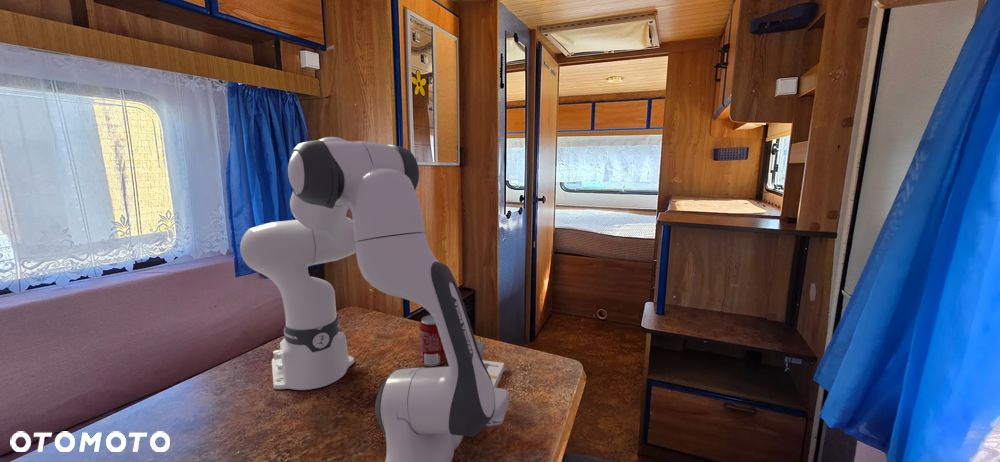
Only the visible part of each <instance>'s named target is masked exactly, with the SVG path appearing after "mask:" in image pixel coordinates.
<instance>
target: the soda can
mask: <svg viewBox="0 0 1000 462" xmlns="http://www.w3.org/2000/svg"><path fill="white" fill-rule="evenodd" d="M418 333H419V335H418V336H419V340H418V341H419V342H418V343H419V363H421V364H422V365H424V366H426V367H429V368H431V367H439V366H440V365H441V364H443V363H445V361H446V360H447V358H446V354H445V351H444V348H443V345H442V342H441V338H440V335H439V332H438V329H437V326H436V323H435V320H434V318H433V317H432V315H431V314H430V315H425V316H423V317H422V318H421V322H420V324H419V325H418Z"/></svg>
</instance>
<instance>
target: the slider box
mask: <svg viewBox="0 0 1000 462" xmlns="http://www.w3.org/2000/svg"><path fill="white" fill-rule="evenodd" d="M482 361H483V363H484V365H485V367H486V369H487V371H488V373H489V375H490V378H491V381H492V384H493V387H494V388H498V385H499V383H500V381H501V378H502V376H503V373H504V371H505V362H498V361H493V360H492V361H491V360H483V359H482Z"/></svg>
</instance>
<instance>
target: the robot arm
mask: <svg viewBox="0 0 1000 462" xmlns="http://www.w3.org/2000/svg"><path fill="white" fill-rule="evenodd" d="M289 155H290V156H289V160H288V164H287V165H288V166H287V176H288V179H289V184H290V187H291V190H292V193H291V196H290V199H289V209H290V213H291V214H292V215H293V217H294V218H295V219H291V220H290V219H289V220H282V221H281V220H279V221H270V222H268V223H267V222H266V223H262V224H260V225H257V226H253V227H250V228H248V229H247V230H246V231H245V233H244V234H243V235H242V237H241V241H240V245H239V251H240V256H241V258H242V260H243V262H244V263H245V264H246V266H247V267H248V268H250V269H251V270H253V271H254V272H257V273H259V274H262V275H263V276H265V277H266V278H268V279H269V280H270V281H271V282H273V284H274V285H275V286H276V288H277V289H278V291H279V292H280V295H281V299H282V304H283V310H284V316H285V324H284V327H283V335H284V337H283V339H282V340H280V342H279V348H280V349H276V350H273V351H272V355H273V358H272V359H271V371H272V384H273V386H272V387H273V389H274V390H287V389H290V390H296V391H298V390H299V391H306V390H313V389H319V388H323V387H326V386H328V385H332V384H333V383H336V382H337V381H339V380H340V379H341V378H342V377H344V376H345V375H346V373H347V371H348V369H349V367H351V366H352V365H353V364H354V363H355V358H354V357H353V356H352V355H350V354H349V353H348V352H349V351H348V345H347V344H348V343H347V338H346V335H345V334H344V333H343V332H341V331H340V319H339V315H337V308H336V307H337V305H336V304H337V303H336V290H335V289H334V286H333V285H332V284H331V283H330V282H329V281H327V280H325V279H322V278H319V277H315V276H310V273H309V267H311V266H314V265H315V266H316V265H321V264H326V263H332V262H336V261H339V260H341V259H345V258H348V257H350V256H352V255H356V260H357V265H358V269H359V271H360V273H361V275H362V277H363V279H365V281H366V282H367V283H368V284H369V285H370V286H372V287H373V288H375V289H376V290H378V291H380V292H382V293H385V294H386V295H390V296H393V297H396V298H400V299H404V300H407V301H410V302H412V303H415V304H417V305H419V306H421V307H422V308H424V309H425V310H426V311H427V312H428V313H429V314H430V315H432V317H433V318H434V320H435V323H436V326H437V329H438V332H439V335H440V338H441V342H442V345H443V348H444V351H445V354H446V360H447V363H448V364H447V365H448V366H433V367H412V368H411V367H410V368H402V369H395V370H393V371H392V372H391V373H390V374H388V376H387V377H386V378H385V379H384V381H383V382H382V384H381V386H380V388H379V390H378V393H377V395H376V399H375V402H374V410H375V411H374V412H375V417H376V421H377V424H378V426H379V427H380V430H381V432H382V433H383V435H384V438H385V443H386V445H385V446H386V454H385V460H384V462H452V461H453V458H454V454H455V450H456V449H457V448H458V447H459V446H460V444H461V442H462V440H463V438H464V437H474V436H476V435H478V434H479V433H480V432H481V431H482V430H483V429H484V428H493V427H495V426H500V425H502V424H503V422H504V421H505V417H506V413H507V412H508V409H509V407H510V406H509V405H510V394H509V392H508V390H507V389H505V388H500V387H497V388H494V387H493V384H492V381H491V378H490V375H489V373H488V371H487V369H486V367H485V365H484V363H483V361H482V360H483V357H482V358H481V355H480V353H479V350H478V347H477V343H476V342H477V341H476V337H475V335H474V331H473V328H472V326H471V322H470V319H469V315H468V313H467V310H466V306H465V304H464V301H463V298H462V295H461V292H460V289H459V286H458V283H457V282H456V279H455V277H454V274H453V273H452V270H451V269H450V267H449V266H448V265H447V264H444V263H442V262H440V261H438V259H437V257H436V256H435V255H434V253H433V252H432V250H431V247H430V245H429V243H428V240H427V234H426V228H425V223H424V218H423V214H422V209H421V206H420V202H419V199H418V197H417V196H418V195H417V192H416V189H417V187H418V185H419V181H420V169H419V164H418V161H417V159H416V157H415V156H414V154H413V153H412V152H411V150H409V149H407V148H405V147H402V146H399V145H394V144H383V143H382V144H381V143H376V142H373V141H371V142H369V141H363V140H362V141H361V140H357V141H351V140H350V141H348V140H346V139H344V138H341V137H336V136H326V137H325V136H324V137H322V138H319V139H318V140H317V139H316V140H309V141H303V142H300V143H297V144H296V146H295V147H294V148H293V150H292V151H291V152H290V154H289ZM348 210H350V212H351V218H350V217H348V216H347V214H348Z"/></svg>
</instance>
